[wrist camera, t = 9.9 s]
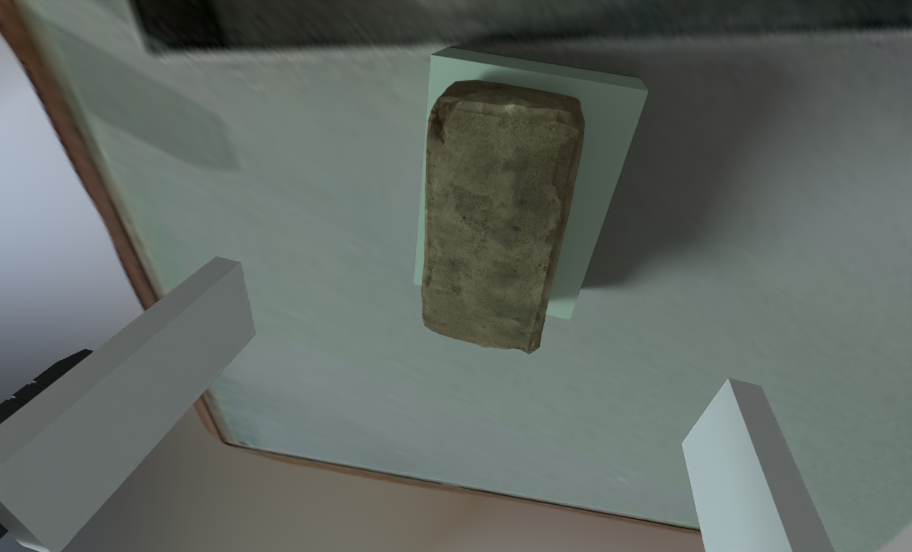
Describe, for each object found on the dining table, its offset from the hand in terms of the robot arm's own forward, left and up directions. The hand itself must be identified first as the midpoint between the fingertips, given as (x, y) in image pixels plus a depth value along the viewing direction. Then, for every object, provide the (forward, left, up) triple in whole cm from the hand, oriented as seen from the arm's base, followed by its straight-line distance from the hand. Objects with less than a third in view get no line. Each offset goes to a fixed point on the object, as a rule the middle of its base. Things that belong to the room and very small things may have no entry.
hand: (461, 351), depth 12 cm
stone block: (0, 0, -11) cm, 11 cm away
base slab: (0, 0, -14) cm, 14 cm away
